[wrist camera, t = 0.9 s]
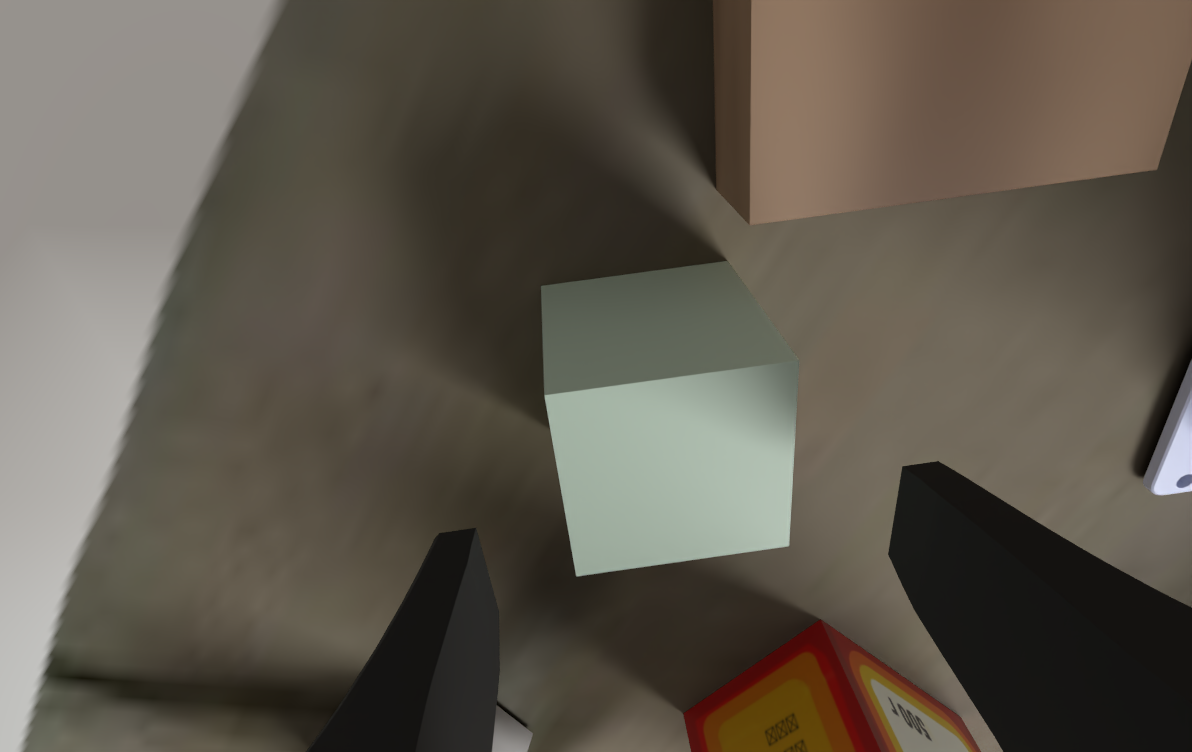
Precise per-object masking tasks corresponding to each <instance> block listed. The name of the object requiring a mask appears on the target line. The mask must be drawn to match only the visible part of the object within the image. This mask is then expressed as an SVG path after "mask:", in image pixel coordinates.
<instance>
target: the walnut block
mask: <svg viewBox="0 0 1192 752" xmlns="http://www.w3.org/2000/svg"><path fill="white" fill-rule="evenodd" d="M713 32H714V89H715V146H716V190H717V191H718V192H719V193H720V194H721V195H722V196H723V197H724V198H725V199H726V200H727V201H728V203H729V204H730V205H731V206H732V207H733V208H734V209H735V210H736V211H737V212H738V213H739V214H740V215H741V216H742V218H743V219H744V220H745V221H746V222H747V223H748V224H749V225H755V224H763V223H770V222H777V221H785V220H792V219H799V218H807V217H814V216H821V215H829V214H836V213H843V212H851V211H858V210H865V209H873V208H880V207H887V206H895V205H902V204H909V203H917V202H924V201H931V200H939V199H946V198H953V197H961V196H968V195H975V194H982V193H990V192H997V191H1004V190H1012V189H1019V188H1026V187H1034V186H1041V185H1048V184H1056V183H1063V182H1070V181H1078V180H1085V179H1092V178H1100V177H1107V176H1114V175H1122V174H1129V173H1136V172H1144V171H1151V170H1157V168H1158V165H1159V162H1160V159H1161V155H1162V152H1163V149H1164V146H1165V143H1166V140H1167V136H1168V133H1169V130H1170V127H1171V124H1172V121H1173V117H1174V114H1175V111H1176V108H1177V105H1178V102H1179V98H1180V95H1181V92H1182V89H1183V86H1184V83H1185V79H1186V76H1187V73H1188V70H1189V67H1190V64H1191V60H1192V0H713Z"/></svg>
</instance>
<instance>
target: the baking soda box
mask: <svg viewBox="0 0 1192 752" xmlns="http://www.w3.org/2000/svg"><path fill="white" fill-rule="evenodd" d="M683 714H684V719H685V724H686V729H687V733H688V738H689V743H690V748H691V752H981V751H980V749H979V747H978V746H977V744H976V742H975V740H974V739H973V737H972V735H971V734H970V732H969V730H968V729H967V727H966V725H965V723H964V722H963V720H962V718H961V717H960V716H958V715H957V714H955V713H954V712H953V711H951V710H950V709H948V708H947V707H945V706H944V705H943V704H941V703H940V702H938V701H937V700H935V699H934V698H933V697H931V696H930V695H928V694H927V693H925V692H924V691H923V690H921V689H920V688H918V687H917V686H915V685H914V684H913V683H911V682H910V681H908V680H907V679H905V678H904V677H902V676H901V675H900V674H898V673H897V672H895V671H894V670H892V669H891V668H890V667H888V666H887V665H885V664H884V663H882V662H881V661H880V660H878V659H877V658H875V657H874V656H872V655H871V654H870V653H868V652H867V651H865V650H864V649H862V648H861V647H860V646H858V645H857V644H855V643H854V642H852V641H851V640H850V639H848V638H847V637H845V636H844V635H842V634H841V633H839V632H838V631H837V630H835V629H834V628H832V627H831V626H829V625H828V624H827V623H825V622H824V621H822V620H821V619H820V620H819V621H817V622H816V623H815V624H813V625H812V626H810V627H809V628H807V629H806V630H804V631H803V632H801V633H800V634H798V635H797V636H796V637H794V638H793V639H791V640H790V641H788V642H787V643H785V644H784V645H782V646H781V647H780V648H778V649H777V650H775V651H774V652H772V653H771V654H769V655H768V656H766V657H765V658H764V659H762V660H761V661H759V662H758V663H756V664H755V665H753V666H752V667H750V668H749V669H747V670H746V671H745V672H743V673H742V674H740V675H739V676H737V677H736V678H734V679H733V680H731V681H730V682H729V683H727V684H726V685H724V686H723V687H721V688H720V689H718V690H717V691H715V692H714V693H712V694H711V695H710V696H708V697H707V698H705V699H704V700H702V701H701V702H699V703H698V704H696V705H695V706H694V707H692V708H691V709H689V710H688V711H686V712H685V713H683Z"/></svg>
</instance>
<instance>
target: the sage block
mask: <svg viewBox="0 0 1192 752" xmlns="http://www.w3.org/2000/svg"><path fill="white" fill-rule="evenodd" d="M541 305H542V336H543V368H544V396H545V402H546V407H547V413H548V419H549V425H550V430H551V436H552V442H553V447H554V453H555V459H556V464H557V470H558V476H559V481H560V487H561V493H562V498H563V504H564V510H565V515H566V521H567V527H568V532H569V538H570V544H571V549H572V555H573V561H574V566H575V572H576V576H583V575H590V574H597V573H604V572H611V571H618V570H625V569H632V568H639V567H646V566H653V565H660V564H667V563H674V562H682V561H689V560H696V559H703V558H710V557H717V556H724V555H731V554H738V553H745V552H752V551H759V550H766V549H773V548H780V547H787V546H789V538H790V520H791V501H792V483H793V465H794V447H795V429H796V410H797V392H798V374H799V359H798V358H797V357H796V355H795V354H794V352H793V351H792V350H791V348H790V347H789V345H788V344H787V343H786V341H785V340H784V338H783V337H782V336H781V334H780V333H779V332H778V330H777V329H776V327H775V326H774V325H773V323H772V322H771V320H770V319H769V318H768V316H767V315H766V313H765V312H764V311H763V309H762V308H761V307H760V305H759V304H758V302H757V301H756V300H755V298H754V297H753V295H752V294H751V293H750V291H749V290H748V288H747V287H746V286H745V284H744V283H743V282H742V280H741V279H740V277H739V276H738V275H737V273H736V272H735V270H734V269H733V268H732V266H731V265H730V263H729V262H728V261H722V262H715V263H708V264H700V265H693V266H685V267H678V268H670V269H663V270H656V271H648V272H641V273H633V274H626V275H618V276H611V277H604V278H596V279H589V280H581V281H574V282H566V283H559V284H552V285H544V286H541Z"/></svg>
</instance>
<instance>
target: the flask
mask: <svg viewBox="0 0 1192 752" xmlns="http://www.w3.org/2000/svg"><path fill="white" fill-rule="evenodd" d="M532 736H533V733H532V732H530V731H529V730H528V729H527V728H525V727H524V726H523V725H521V724H520V723H519V722H518V721H516V720H515V719H514V718H513V717H511V716H510V715H509V714H507V713H506V712H505V711H504V710H502V709H501V708H500V707H498V706H497V705H496V715H495V726H494V736H493V746H492V752H527V750H528V747H529V744H530V741H531V739H532Z"/></svg>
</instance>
